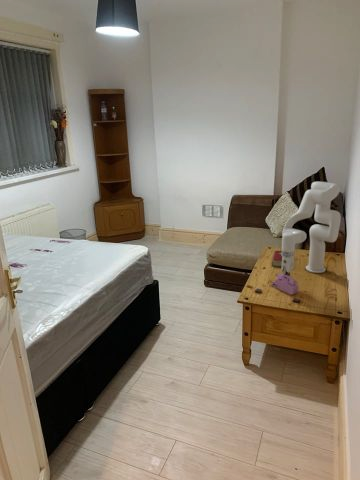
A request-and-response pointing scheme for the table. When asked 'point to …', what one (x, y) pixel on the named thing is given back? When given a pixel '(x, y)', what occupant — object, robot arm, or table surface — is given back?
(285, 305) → the table surface
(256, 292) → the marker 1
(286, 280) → the toy telephone
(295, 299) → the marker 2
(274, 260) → the hardcover book
